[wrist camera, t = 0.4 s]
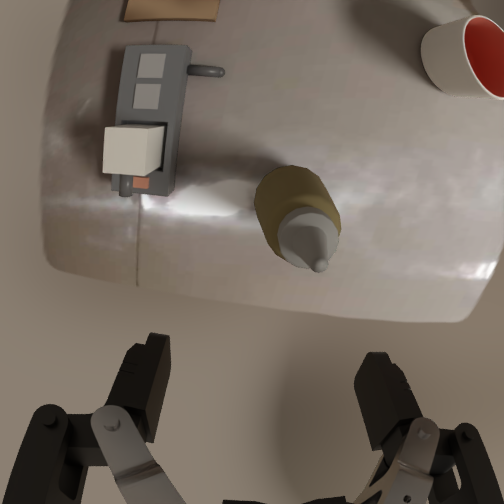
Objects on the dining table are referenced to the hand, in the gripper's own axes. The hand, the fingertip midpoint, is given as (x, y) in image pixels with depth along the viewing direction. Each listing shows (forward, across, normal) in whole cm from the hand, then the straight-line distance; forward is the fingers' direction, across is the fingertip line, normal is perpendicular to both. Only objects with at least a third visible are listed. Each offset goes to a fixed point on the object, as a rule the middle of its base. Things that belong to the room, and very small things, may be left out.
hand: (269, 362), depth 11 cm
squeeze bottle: (+27, -4, 0) cm, 27 cm away
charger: (+26, +13, -3) cm, 29 cm away
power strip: (+27, +11, -7) cm, 30 cm away
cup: (+27, -22, -23) cm, 42 cm away
